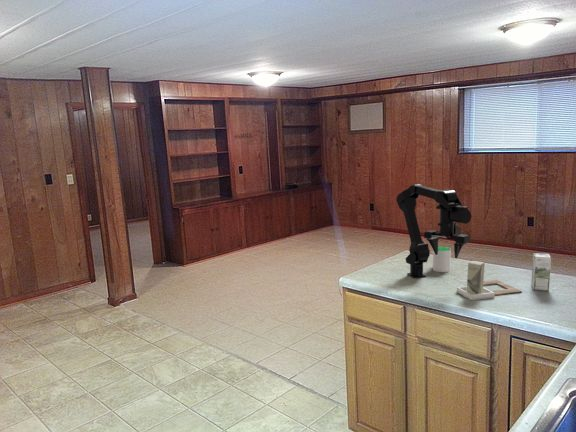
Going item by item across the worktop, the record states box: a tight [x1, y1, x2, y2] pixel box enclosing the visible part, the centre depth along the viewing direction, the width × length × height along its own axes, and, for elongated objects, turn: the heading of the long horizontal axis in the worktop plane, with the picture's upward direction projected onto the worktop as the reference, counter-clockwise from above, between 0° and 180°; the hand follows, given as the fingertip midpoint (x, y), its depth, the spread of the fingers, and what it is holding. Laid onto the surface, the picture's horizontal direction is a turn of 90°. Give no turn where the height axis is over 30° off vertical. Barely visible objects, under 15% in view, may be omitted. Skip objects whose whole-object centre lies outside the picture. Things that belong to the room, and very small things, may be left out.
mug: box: [432, 246, 452, 273], centre depth 224 cm, size 12×8×10 cm, turn 177°
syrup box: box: [530, 252, 552, 292], centre depth 190 cm, size 6×6×14 cm
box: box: [466, 260, 485, 294], centre depth 186 cm, size 5×4×13 cm
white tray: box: [456, 285, 495, 301], centre depth 186 cm, size 10×10×2 cm
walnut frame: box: [483, 279, 523, 297], centre depth 194 cm, size 16×14×1 cm
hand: (446, 256), depth 197 cm, fingers open, 9 cm apart
